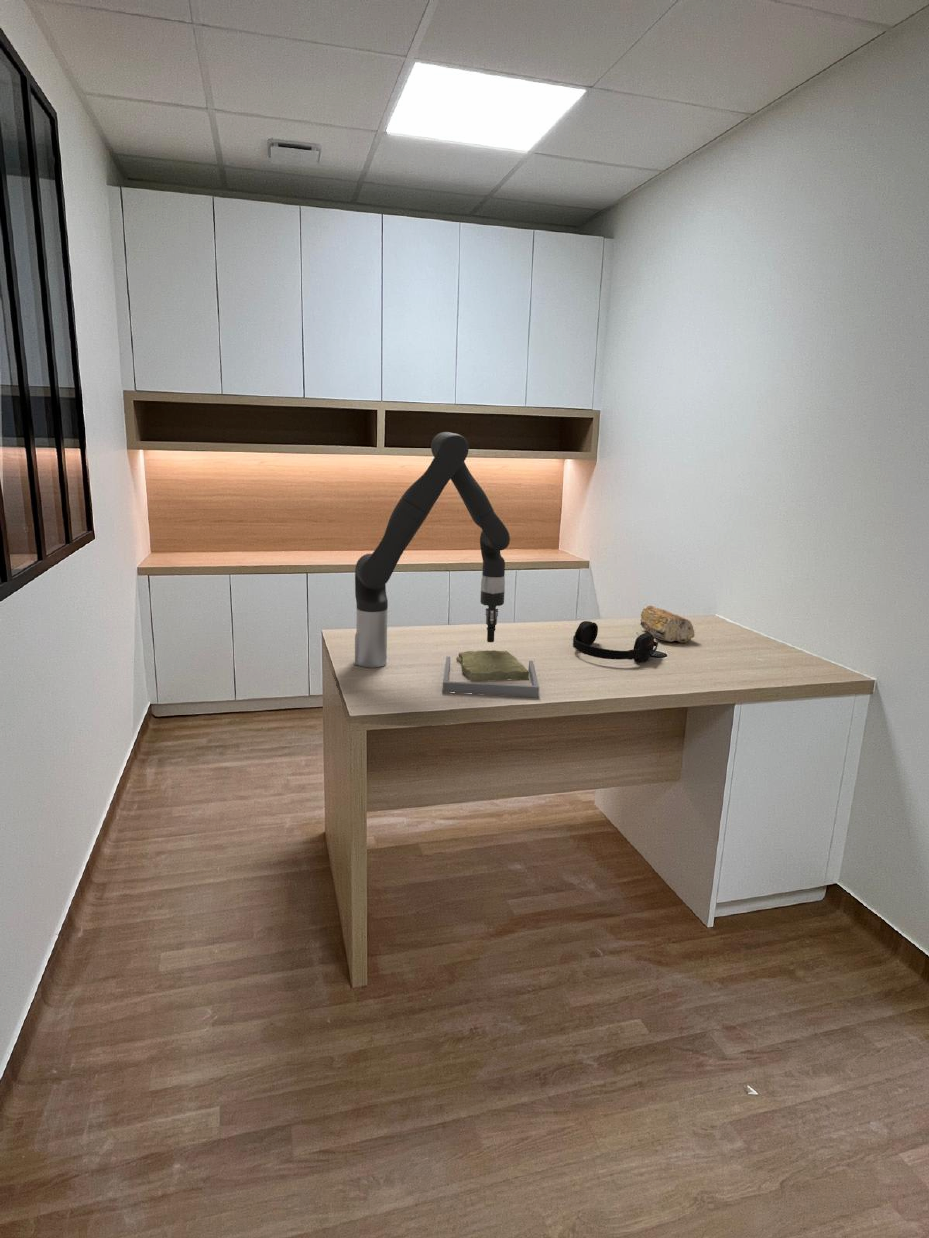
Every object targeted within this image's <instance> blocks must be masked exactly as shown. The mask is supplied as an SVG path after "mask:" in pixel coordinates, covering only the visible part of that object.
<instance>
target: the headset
mask: <svg viewBox="0 0 929 1238" xmlns="http://www.w3.org/2000/svg"><path fill="white" fill-rule="evenodd" d="M598 629H599V627H598V623H596V622H592V621H590V620H584V621H581V622H580V624H579V625H578V626H577V629H575V630H576V631H575V632H574V635H573V638H572V647H573V648H574V649H575V650H577V651H578V652H580V653H582V654H584V655H586V656H590V657H594V658H598V659H604V660H618V661H619V660H630V661H631V660H632V661H634V662H638V663H639V664H642V663H646V662H648V661H649V660H650V658H651V657H652V655H653V654H654V653H655V652H656V651H657V649H658V647H659V641H655V637H653V635H652V634H650V633H649V632H644V633H641V634H639V633H637V635H638V636H637V637H636V639H635V642H634V645H633V649H629V650H614V649H607V648H601V647H597V646H592V645H593V644H594V643H595V641H596V640H597V637H598V634H599V633H598V632H599V630H598Z"/></svg>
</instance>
